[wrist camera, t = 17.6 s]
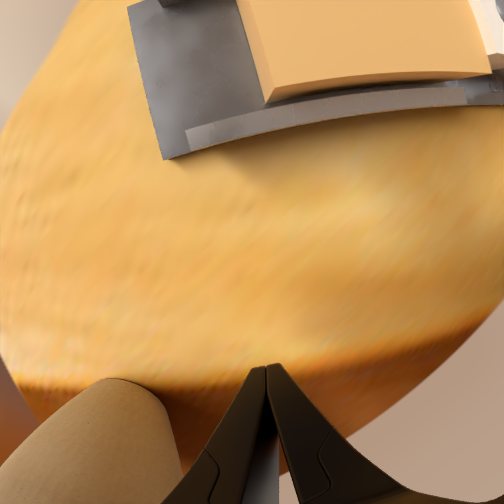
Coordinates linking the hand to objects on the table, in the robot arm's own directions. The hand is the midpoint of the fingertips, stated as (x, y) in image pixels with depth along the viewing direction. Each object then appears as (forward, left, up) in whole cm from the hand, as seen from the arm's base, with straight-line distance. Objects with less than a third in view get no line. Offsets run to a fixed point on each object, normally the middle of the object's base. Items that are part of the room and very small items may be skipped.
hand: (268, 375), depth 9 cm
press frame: (-9, -12, -11) cm, 18 cm away
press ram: (-8, -12, -10) cm, 17 cm away
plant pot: (+14, +11, -11) cm, 21 cm away
